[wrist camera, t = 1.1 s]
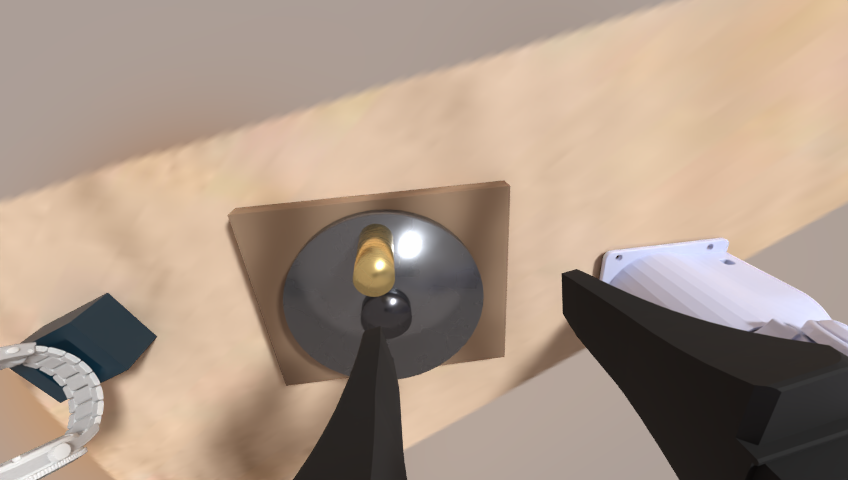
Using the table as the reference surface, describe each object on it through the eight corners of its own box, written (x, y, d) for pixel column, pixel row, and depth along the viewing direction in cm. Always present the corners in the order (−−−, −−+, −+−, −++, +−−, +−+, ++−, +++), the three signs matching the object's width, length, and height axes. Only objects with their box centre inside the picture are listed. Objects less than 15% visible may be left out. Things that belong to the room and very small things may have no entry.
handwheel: (480, 358, 27) (501, 421, 22) (310, 380, 26) (293, 451, 21) (479, 198, 21) (507, 236, 16) (263, 221, 21) (224, 267, 16)
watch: (117, 383, 26) (-43, 567, 17) (19, 307, 23) (-257, 483, 13) (178, 353, 26) (50, 526, 16) (86, 272, 22) (-150, 427, 13)
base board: (504, 180, 23) (510, 185, 22) (500, 346, 29) (504, 356, 28) (235, 208, 22) (227, 215, 21) (290, 373, 28) (286, 385, 27)
